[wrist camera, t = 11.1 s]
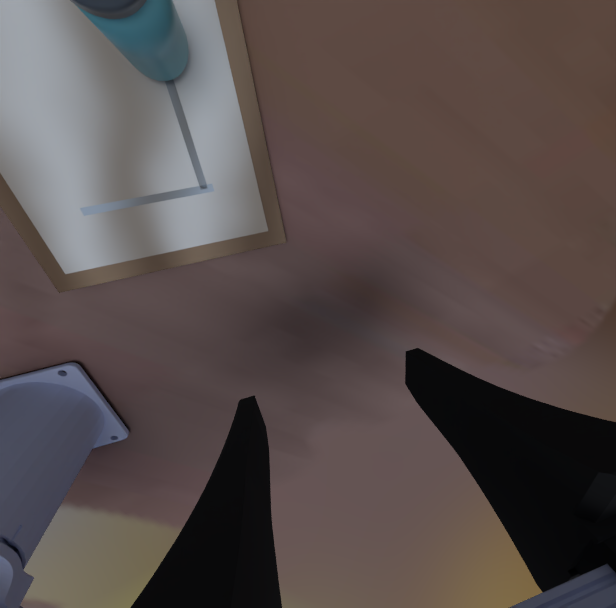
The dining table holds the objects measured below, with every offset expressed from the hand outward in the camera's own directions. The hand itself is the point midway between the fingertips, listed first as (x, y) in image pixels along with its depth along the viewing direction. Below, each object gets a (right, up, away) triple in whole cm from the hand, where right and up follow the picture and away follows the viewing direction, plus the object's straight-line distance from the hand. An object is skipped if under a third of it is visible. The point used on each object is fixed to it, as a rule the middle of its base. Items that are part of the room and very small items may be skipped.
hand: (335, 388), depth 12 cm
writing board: (-11, +13, +2) cm, 17 cm away
